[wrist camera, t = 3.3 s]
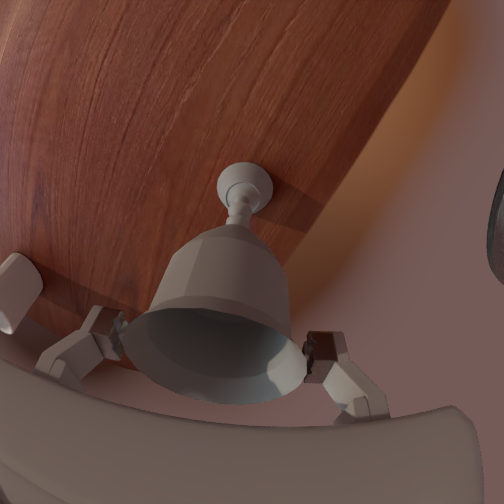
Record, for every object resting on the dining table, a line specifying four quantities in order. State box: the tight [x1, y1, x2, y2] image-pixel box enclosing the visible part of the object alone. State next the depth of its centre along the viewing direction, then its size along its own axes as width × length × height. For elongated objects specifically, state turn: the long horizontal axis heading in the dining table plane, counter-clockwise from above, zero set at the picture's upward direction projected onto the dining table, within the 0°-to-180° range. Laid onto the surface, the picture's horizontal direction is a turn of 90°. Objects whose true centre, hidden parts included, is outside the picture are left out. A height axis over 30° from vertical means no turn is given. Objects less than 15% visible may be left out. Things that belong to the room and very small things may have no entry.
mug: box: [0, 253, 43, 334], centre depth 30 cm, size 8×12×10 cm, turn 153°
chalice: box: [122, 162, 307, 405], centre depth 17 cm, size 7×7×18 cm
